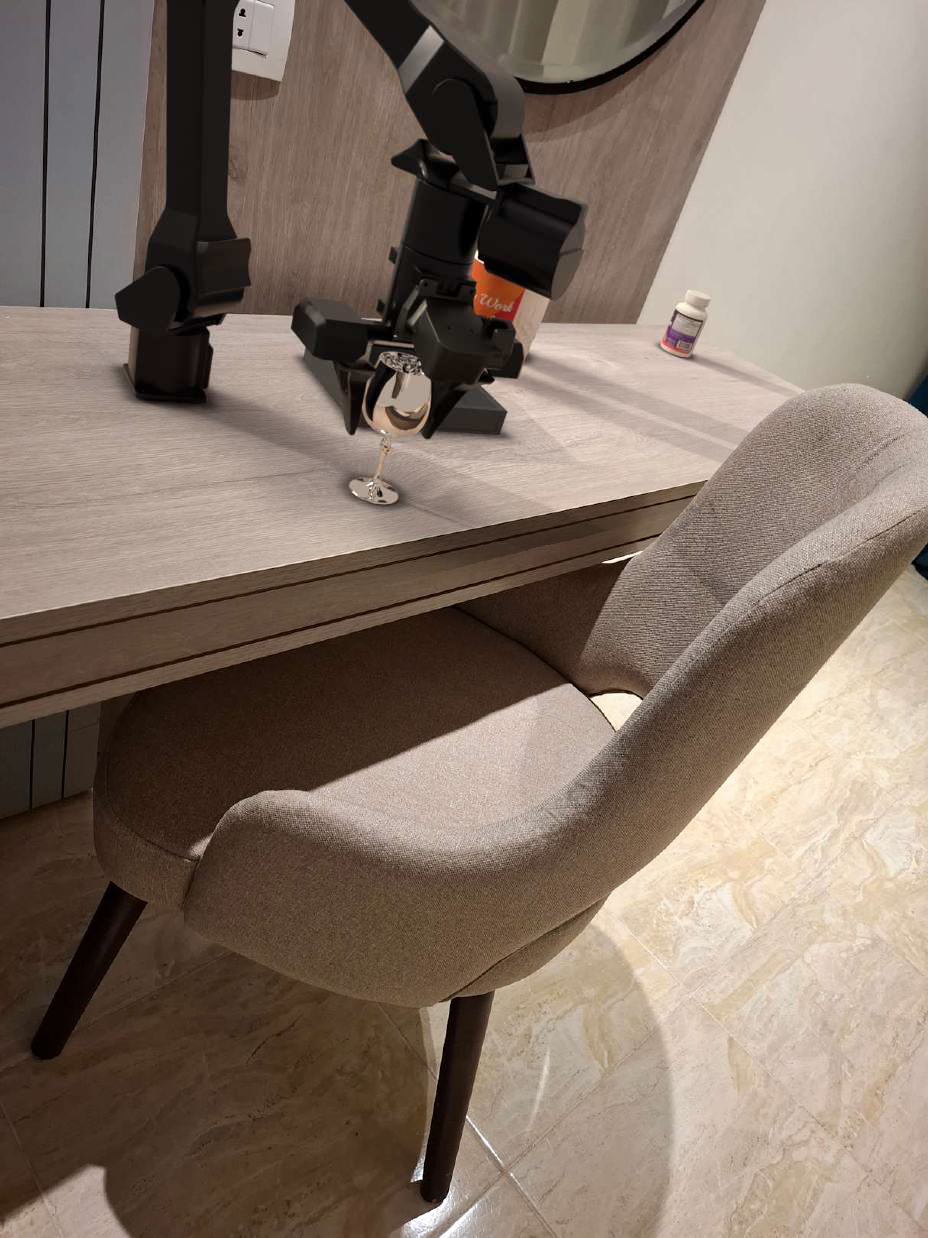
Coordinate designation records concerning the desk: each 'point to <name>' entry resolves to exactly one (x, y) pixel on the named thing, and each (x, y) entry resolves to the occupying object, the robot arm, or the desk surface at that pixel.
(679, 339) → the pill bottle
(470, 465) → the desk surface
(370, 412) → the wineglass
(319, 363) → the tray
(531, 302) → the white cup
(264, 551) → the desk surface
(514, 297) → the paper cup
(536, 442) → the desk surface
